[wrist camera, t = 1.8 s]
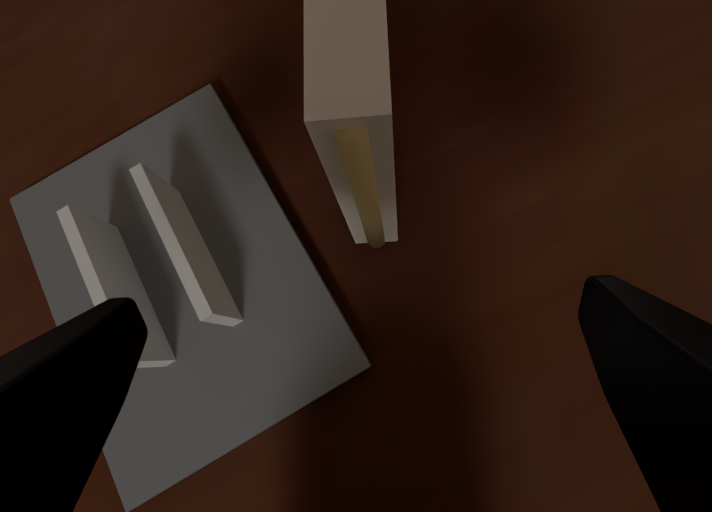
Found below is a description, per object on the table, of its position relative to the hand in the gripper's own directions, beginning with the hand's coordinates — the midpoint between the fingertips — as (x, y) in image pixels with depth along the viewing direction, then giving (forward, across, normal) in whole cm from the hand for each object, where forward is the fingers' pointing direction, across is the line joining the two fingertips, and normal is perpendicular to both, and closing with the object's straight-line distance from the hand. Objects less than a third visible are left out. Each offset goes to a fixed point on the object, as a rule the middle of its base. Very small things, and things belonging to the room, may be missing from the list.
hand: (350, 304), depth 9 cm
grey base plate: (+12, +10, +7) cm, 17 cm away
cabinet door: (+14, 0, +4) cm, 15 cm away
